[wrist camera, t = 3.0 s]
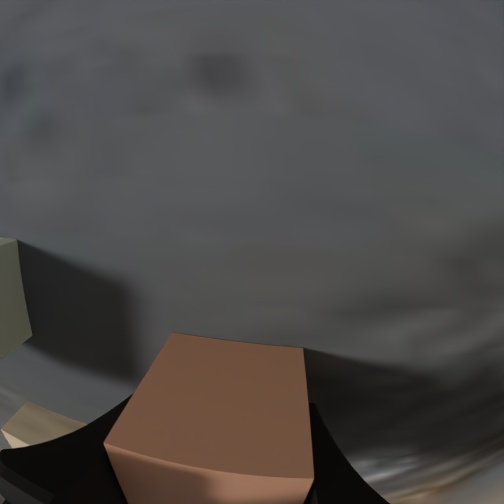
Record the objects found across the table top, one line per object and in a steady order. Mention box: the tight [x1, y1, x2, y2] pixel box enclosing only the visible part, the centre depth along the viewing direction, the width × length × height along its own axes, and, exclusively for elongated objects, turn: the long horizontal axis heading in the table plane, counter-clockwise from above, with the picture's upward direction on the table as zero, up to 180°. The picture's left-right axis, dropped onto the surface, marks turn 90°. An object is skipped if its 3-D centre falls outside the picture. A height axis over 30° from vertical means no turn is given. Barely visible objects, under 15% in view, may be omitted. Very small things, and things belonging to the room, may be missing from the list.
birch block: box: [1, 401, 88, 448], centre depth 14 cm, size 8×8×4 cm
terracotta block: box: [104, 332, 314, 504], centre depth 9 cm, size 5×5×6 cm
